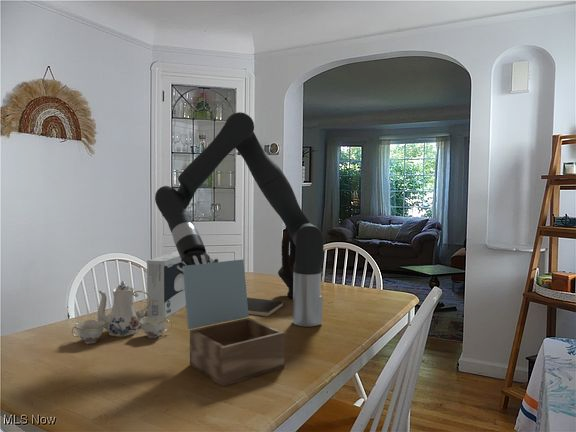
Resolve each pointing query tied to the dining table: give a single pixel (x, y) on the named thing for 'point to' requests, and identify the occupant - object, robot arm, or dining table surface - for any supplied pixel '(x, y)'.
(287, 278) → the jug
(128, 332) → the chinaware
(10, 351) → the dining table surface
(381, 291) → the dining table surface
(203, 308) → the lid
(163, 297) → the packaging
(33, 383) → the dining table surface
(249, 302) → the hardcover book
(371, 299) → the dining table surface
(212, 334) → the box
